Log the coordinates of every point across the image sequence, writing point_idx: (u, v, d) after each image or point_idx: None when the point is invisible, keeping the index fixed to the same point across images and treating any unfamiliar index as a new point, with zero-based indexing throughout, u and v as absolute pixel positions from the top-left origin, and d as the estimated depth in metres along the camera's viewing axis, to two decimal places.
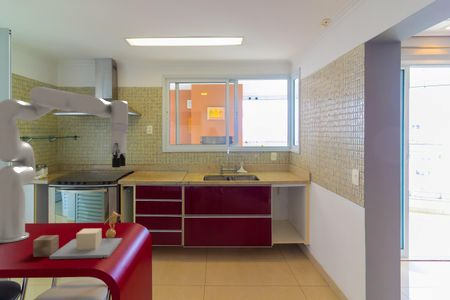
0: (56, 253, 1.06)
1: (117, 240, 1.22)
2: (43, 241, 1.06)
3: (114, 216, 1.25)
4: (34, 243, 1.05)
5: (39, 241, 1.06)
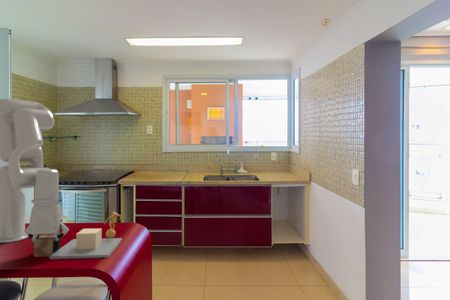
0: (56, 253, 1.06)
1: (117, 240, 1.22)
2: (43, 241, 1.06)
3: (114, 216, 1.25)
4: (34, 243, 1.05)
5: (39, 241, 1.06)
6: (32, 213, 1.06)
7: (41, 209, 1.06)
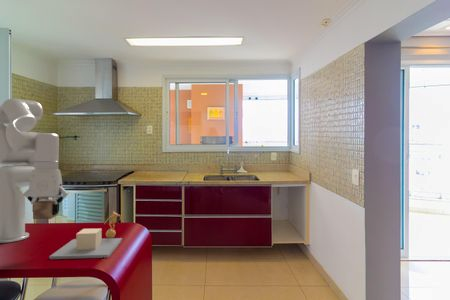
0: (56, 253, 1.06)
1: (117, 240, 1.22)
2: (43, 203, 1.06)
3: (114, 216, 1.25)
4: (34, 205, 1.06)
5: (39, 203, 1.06)
6: (32, 175, 1.06)
7: (41, 171, 1.06)
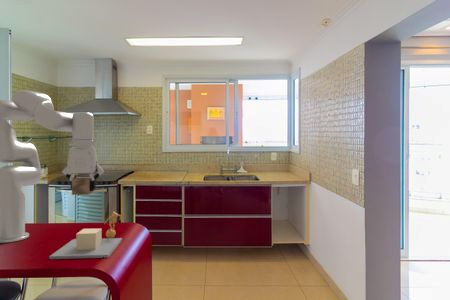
0: (56, 253, 1.06)
1: (117, 240, 1.22)
2: (81, 180, 1.10)
3: (114, 216, 1.25)
4: (72, 181, 1.10)
5: (77, 179, 1.10)
6: (70, 153, 1.10)
7: (78, 149, 1.10)
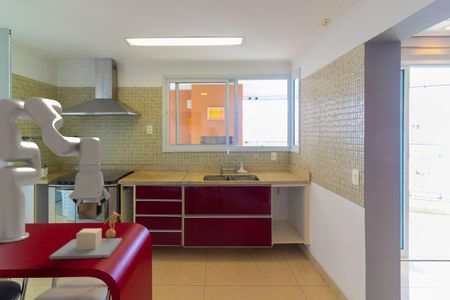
0: (56, 253, 1.06)
1: (117, 240, 1.22)
2: (88, 205, 1.11)
3: (114, 216, 1.25)
4: (79, 206, 1.11)
5: (84, 205, 1.11)
6: (77, 178, 1.11)
7: (85, 174, 1.11)
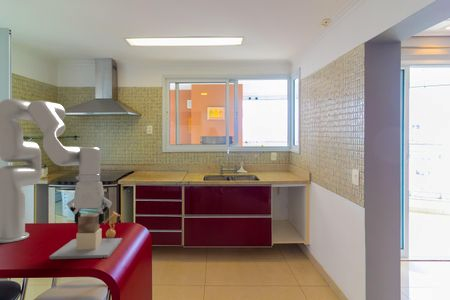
0: (56, 253, 1.06)
1: (117, 240, 1.22)
2: (87, 218, 1.11)
3: (114, 216, 1.25)
4: (79, 220, 1.11)
5: (84, 218, 1.11)
6: (77, 188, 1.11)
7: (85, 184, 1.11)
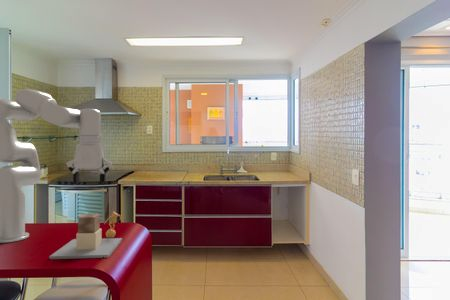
0: (56, 253, 1.06)
1: (117, 240, 1.22)
2: (87, 218, 1.11)
3: (114, 216, 1.25)
4: (79, 220, 1.11)
5: (84, 218, 1.11)
6: (77, 149, 1.12)
7: (85, 145, 1.13)
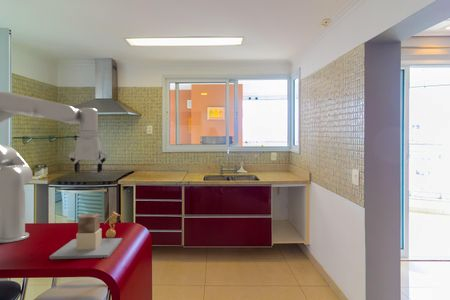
0: (56, 253, 1.06)
1: (117, 240, 1.22)
2: (87, 218, 1.11)
3: (114, 216, 1.25)
4: (79, 220, 1.11)
5: (84, 218, 1.11)
6: (77, 142, 1.31)
7: (84, 138, 1.31)
